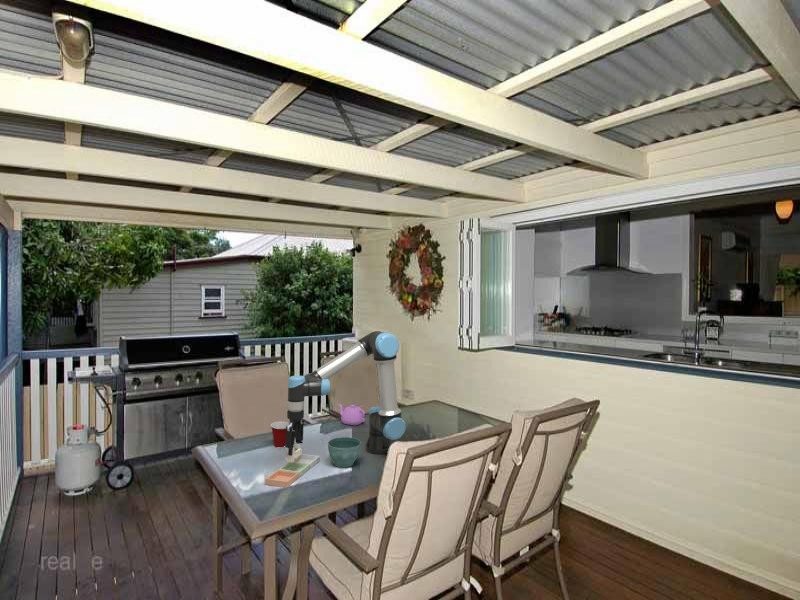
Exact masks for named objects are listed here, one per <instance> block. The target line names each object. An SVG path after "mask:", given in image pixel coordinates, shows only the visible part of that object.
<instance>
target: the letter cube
mask: <svg viewBox="0 0 800 600" xmlns="http://www.w3.org/2000/svg"><path fill="white" fill-rule="evenodd" d="M302 450H303V448H301V447H300V448H295V450H294V462H293V463H297V462H298V461H300V460H301V455H302V454H303V453H302V452H303V451H302ZM285 459H286V460H285V461H286V462H287V463H288V449H287V450H286V458H285Z"/></svg>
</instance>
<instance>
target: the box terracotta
mask: <svg viewBox="0 0 800 600" xmlns="http://www.w3.org/2000/svg"><path fill="white" fill-rule="evenodd" d="M299 479H300V478H299V473H296V472H289V471H282V470H278V469H276V470H275V471H274V472H273V473H271V474H270V475H269V476H267V477H266V478H264V485H265V486H266V485H267V486H272V487H280V488H284V489H287V488H289V487H290V486H291V485H292V484H294V483H295V482H296V481H298V480H299Z"/></svg>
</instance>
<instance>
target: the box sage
mask: <svg viewBox="0 0 800 600" xmlns="http://www.w3.org/2000/svg"><path fill="white" fill-rule="evenodd" d="M277 470H282V471H289V472H296V473H299V479H300V478H302V477H303V476H304V474H306V473H307V472H309V471H310V470H311V469H310V464H305V463H298V462H297V463H293V462H287V463H285V464H284V465H282V466H281V467H280V468H278V469H277Z"/></svg>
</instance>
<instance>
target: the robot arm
mask: <svg viewBox="0 0 800 600" xmlns="http://www.w3.org/2000/svg"><path fill="white" fill-rule="evenodd" d="M399 349H400V343H399V340H398V338H397V337H396V336H395V335H394V334H391V333H389V332H384V331H379V330H374V331H372V332H371V331H370V333H367V334H366V335H364V336H363V337H361V338H360V339H358V340H357V341H356V342H355V344H354V345H352V346H351V347H349V348H348V349H346V350H345V351H343V352H342V353H340V354H339V355H337V356H335V357H334V358H332V359H331V360H330V361H328V362H326V363H324V364H323V365H321V366H320V367H318V368H317V369H316V370H314V371H312V372H311V373H304V374H303V375H292V376H289V378H288V382H287V402H286V403H287V412H286V414H287V415H286V416H287V417H286V418H287V419H288V420H289V422H288V423H289V426H286V445H285V448H286V449H287V450H288V462H294V450H295V448H300V449H301V444H303V443H304V442H303V441H304V424H305V419H304V417H305V411H304V410H305V397H314V396H315V397H319V396H320V397H321V396H328V395H329V394H330V392H331V382H330V379H332V378H333V377H334V376H336V375H338V374H339V373H340V372H342V371H344V370H346V368H348V367H350V366H351V365H353V364H354V363H356V362H357V361H359V360H361V359H362V358H367V357H368V356H370V355H373V361H374V362H375V363H376V366H377V376H378V377H377V378H378V387H379V388H378V389H379V398H380V399H379V400H380V405H378V406H377V405H376V406H373V407H370V408H369V413H368V436H367V439H366V441H365V446H364V449H365V451H366V452H368V453H370V454H375V455H386V454H388V453H387V451H388V448H389V446H390V444H391V443H393V441H396V440H398V439H400V438H401V437H402V436H403V435H404V434H405V432H406V428H407V424H406V421H405V420H404V419H403V418H402V417H403V416H402V410H401V409H400V408H399V406H398V405H399V403H398V397H397V395H398V394H397V384H396V383H397V382H396V371H395V361H396V360H397V354H398V352H399ZM288 462H287V463H288Z"/></svg>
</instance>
